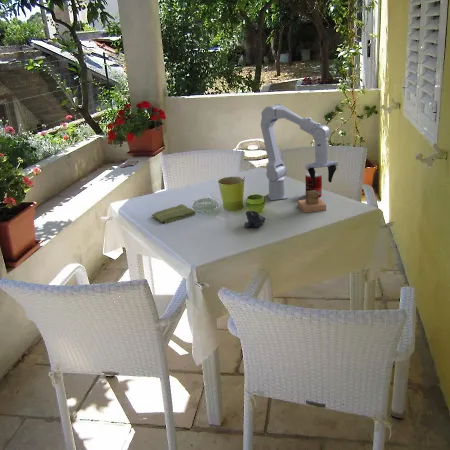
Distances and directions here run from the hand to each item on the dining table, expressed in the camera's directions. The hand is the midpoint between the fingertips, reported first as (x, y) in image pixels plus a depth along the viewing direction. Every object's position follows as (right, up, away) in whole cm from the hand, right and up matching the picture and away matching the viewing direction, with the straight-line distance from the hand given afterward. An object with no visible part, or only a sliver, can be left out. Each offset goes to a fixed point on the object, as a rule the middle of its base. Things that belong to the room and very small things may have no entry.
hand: (321, 182), depth 220 cm
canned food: (-1, -5, +15) cm, 16 cm away
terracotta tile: (-5, -11, -1) cm, 12 cm away
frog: (-31, -20, -16) cm, 41 cm away
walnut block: (-5, -9, -2) cm, 10 cm away
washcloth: (-67, -16, +3) cm, 69 cm away
